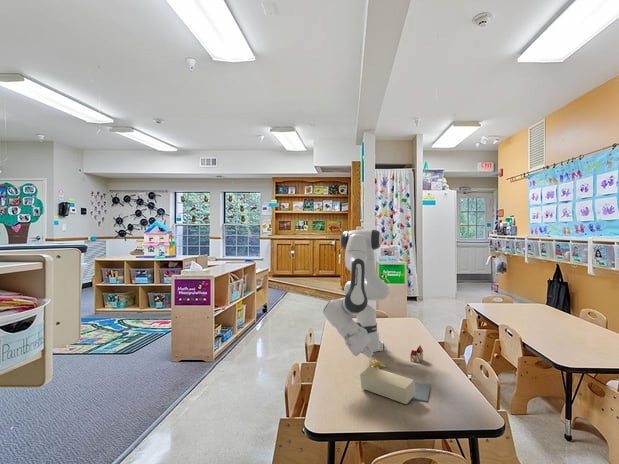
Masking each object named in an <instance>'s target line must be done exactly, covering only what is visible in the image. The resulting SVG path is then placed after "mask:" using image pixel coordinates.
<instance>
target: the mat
mask: <svg viewBox="0 0 619 464" xmlns="http://www.w3.org/2000/svg"><path fill="white" fill-rule="evenodd" d="M414 384H415V396H414V397H413V398H412V399H411V400H412V401H413V400H414V401H418V402H424V403H428V401H429V395H430V392H431V391H430V390H431V387H432V384H430V383H423V382H418V381H414ZM369 392H370V393H372V392H371V391H369Z"/></svg>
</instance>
